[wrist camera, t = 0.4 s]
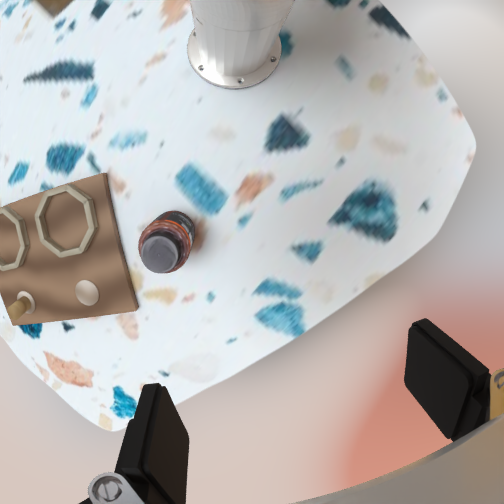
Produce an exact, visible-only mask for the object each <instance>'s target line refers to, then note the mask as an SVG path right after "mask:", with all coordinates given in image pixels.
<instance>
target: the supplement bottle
mask: <svg viewBox="0 0 504 504" xmlns="http://www.w3.org/2000/svg"><path fill="white" fill-rule="evenodd" d="M194 236H195V230H194V225H193V223H192V221H191V220H190V219H189V217H187V216H186V215H185V214H183V213H181V212H178V211H169V212H165V213H163V214H161V215H160V216H159V217H157V218H156V219H155V220H154V221H153V222H152V223H151V224H150V225H149V226H147V228H146V229H145V230H144V231H143V232H142V234H141V236H140V239H139V244H138V248H139V254H140V257H141V259H142V262H143V264H144V265H145V266H146V267H147V268H148V269H149V270H150V271H152V272H155V273H170V272H173V271H176V270H178V269H179V268H180V267H181V266H183V264H184V263H185V262H186V260H187V259H188V256H189V253H190V250H191V247H192V244H193V241H194Z"/></svg>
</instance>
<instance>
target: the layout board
mask: <svg viewBox="0 0 504 504" xmlns="http://www.w3.org/2000/svg"><path fill="white" fill-rule="evenodd" d="M0 294H1V296H2V299H3V302H4V305H5V307H6V310H7V312H8V315H9V317H10V320H11V322H12V325H13V326H15V325H25V324H35V323H45V322H54V321H63V320H71V319H79V318H88V317H96V316H103V315H111V314H118V313H126V312H133V311H136V310H137V309H138V307H139V306H138V303H137V300H136V297H135V293H134V290H133V286H132V283H131V280H130V276H129V272H128V269H127V265H126V261H125V257H124V254H123V250H122V246H121V242H120V237H119V233H118V229H117V225H116V220H115V216H114V211H113V206H112V201H111V196H110V191H109V186H108V180H107V175H106V173H101V174H98V175H94V176H91V177H87V178H84V179H81V180H77V181H74V182H71V183H68V184H65V185H62V186H58V187H55V188H52V189H49V190H46V191H44V192H41V193H38V194H35V195H32V196H29V197H27V198H24V199H21V200H19V201H16V202H13V203H11V204H8V205H6V206H3V207H1V208H0Z"/></svg>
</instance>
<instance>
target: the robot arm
mask: <svg viewBox="0 0 504 504" xmlns="http://www.w3.org/2000/svg"><path fill="white" fill-rule="evenodd" d="M294 1H295V0H190V5H191V11H192V16H193V22H194V27H195V28H194V29H193V31H192V32H191V35H190V37H189V40H188V44H187V54H188V58H189V61H190V64H191V66H192V67H193V69H194V71H195V72H196V73H197V74H198V75H199V76H200V77H201V78H202V79H204V80H205V81H207V82H208V83H211V84H213V85H215V86H219V87H223V88H231V89H237V88H245V87H249V86H253V85H255V84H257V83H259V82H261V81H262V80H264V79H265V78H267V77H268V76H269V75H270V74H271V73H272V72H273V70H274V69H275V67H276V66H277V64H278V62H279V60H280V56H281V41H280V38H279V35H278V34H279V32H280V30H281V28H282V26H283V24H284V22H285V20H286V18H287V16H288V14H289V12H290V9H291V7H292V5H293V3H294ZM195 36H196V37H195ZM271 60H273V61H274V62H271ZM200 69H204V70H203V71H200ZM239 81H241V82H242V84H239V83H238V82H239ZM406 358H407V359H406V368H405V376H404V382H405V385H406V387H407V388H408V390H409V391H410V392H411V394H412V395H413V396H414V397H415V399H416V400H417V401H418V402H419V404H420V405H421V406H422V407H423V409H424V410H425V411H426V412H427V414H428V415H429V416H430V418H431V419H432V420H433V421H434V423H435V424H436V425H437V427H438V428H439V429H440V431H441V432H442V433H443V434H444V436H445V437H446V438H447V439H450V438H451V440H452V441H453V442H452V443H451V444H449V445H447V446H445V447H443V448H441V449H440V450H438V451H436V452H434V453H432V454H430V455H428V456H426V457H424V458H422V459H420V460H418V461H416V462H413V463H411V464H409V465H407V466H405V467H402V468H400V469H398V470H395V471H393V472H390V473H388V474H386V475H383V476H381V477H378V478H375V479H373V480H370V481H367V482H365V483H362V484H359V485H356V486H353V487H350V488H347V489H344V490H341V491H338V492H334V493H331V494H327V495H324V496H320V497H316V498H312V499H308V500H304V501H300V502H296V503H291V504H504V368H503V369H499V370H497V371H495V372H494V373H493V374H492V375H491V374H490V373H489V369H488V368H487V367H486V366H484V365H483V364H482V363H481V362H480V361H478V360H477V359H476V358H475V357H474V356H472V355H471V354H470V353H469V352H468V351H466V350H465V349H464V348H463V347H462V346H460V345H459V344H458V343H457V342H455V341H454V340H453V339H452V338H451V337H449V336H448V335H447V334H446V333H444V332H443V331H442V330H441V329H439V328H438V327H437V326H436V325H434V324H433V323H432V322H431V321H429V320H428V319H426V318H424V319H422V320H419V321H416V322H414V323H412V326H411V327H410V329H409V332H408V346H407V357H406ZM188 453H189V436H188V433H187V430H186V428H185V426H184V425H183V422H182V420H181V418H180V416H179V414H178V412H177V410H176V408H175V406H174V404H173V401H172V399H171V397H170V395H169V393H168V390H167V388H166V387H165V386H161V385H160V384H159V383H154V384H145V385H144V386H143V389H142V392H141V395H140V398H139V402H138V405H137V408H136V412H135V415H134V419H131V420H130V421H129V423H128V425H127V429H126V432H125V436H124V439H123V443H122V446H121V450H120V453H119V457H118V461H117V464H116V468H115V471H114V473H111V472H108V473H103V474H100V475H98V476H97V477H95V478H94V479H93V480H92V482H91V483H90V485H89V487H88V495H89V498H87V499H86V500H84V501H82V502H81V503H79V504H186V485H187V467H188Z"/></svg>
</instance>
